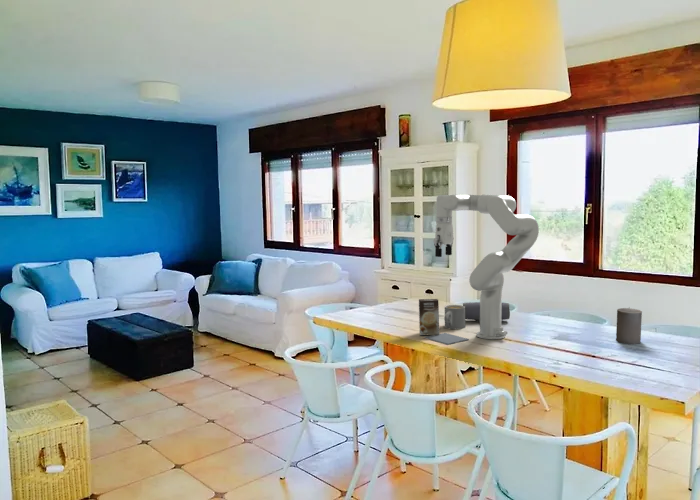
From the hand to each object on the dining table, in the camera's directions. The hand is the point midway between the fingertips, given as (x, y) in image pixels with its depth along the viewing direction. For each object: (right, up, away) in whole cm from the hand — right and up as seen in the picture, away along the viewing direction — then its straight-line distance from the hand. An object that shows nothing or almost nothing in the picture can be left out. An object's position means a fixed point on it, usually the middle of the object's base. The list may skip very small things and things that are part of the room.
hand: (443, 255), depth 269 cm
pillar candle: (+75, -37, -29) cm, 89 cm away
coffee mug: (+5, -35, +3) cm, 36 cm away
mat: (-2, -37, -20) cm, 42 cm away
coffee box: (-8, -37, -11) cm, 39 cm away
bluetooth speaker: (+24, -34, +16) cm, 45 cm away
